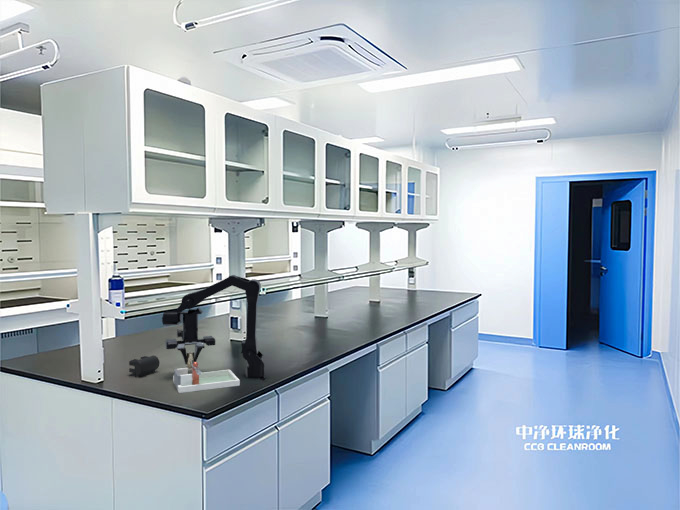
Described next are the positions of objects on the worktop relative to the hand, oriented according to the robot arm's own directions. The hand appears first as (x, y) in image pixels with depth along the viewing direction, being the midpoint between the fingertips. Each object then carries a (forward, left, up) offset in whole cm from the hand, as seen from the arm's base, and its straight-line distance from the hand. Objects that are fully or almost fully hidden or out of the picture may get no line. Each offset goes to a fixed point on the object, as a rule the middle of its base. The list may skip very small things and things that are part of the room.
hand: (190, 363), depth 194 cm
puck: (+3, +11, -5) cm, 13 cm away
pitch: (-4, +11, -6) cm, 14 cm away
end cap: (+16, -15, -6) cm, 23 cm away
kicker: (0, +9, -5) cm, 10 cm away
